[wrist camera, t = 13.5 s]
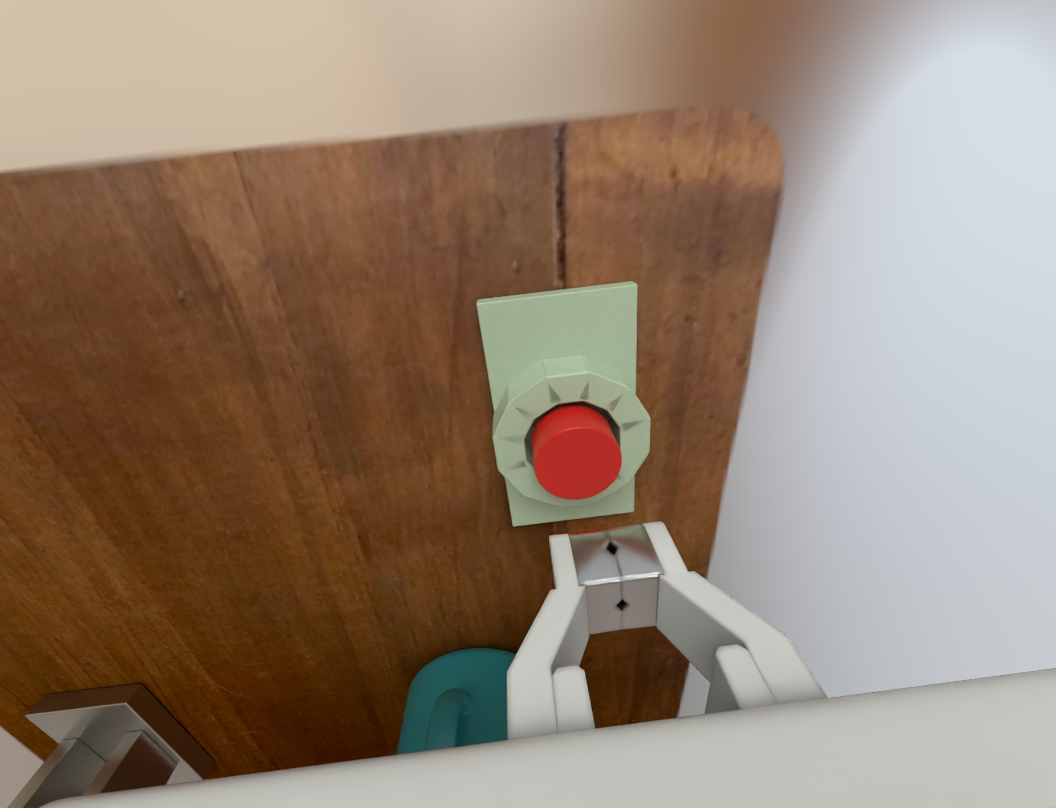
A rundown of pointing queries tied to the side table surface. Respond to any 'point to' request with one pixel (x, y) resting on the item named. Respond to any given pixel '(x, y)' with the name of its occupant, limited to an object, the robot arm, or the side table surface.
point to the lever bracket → (109, 745)
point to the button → (575, 452)
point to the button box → (563, 387)
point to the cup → (457, 701)
